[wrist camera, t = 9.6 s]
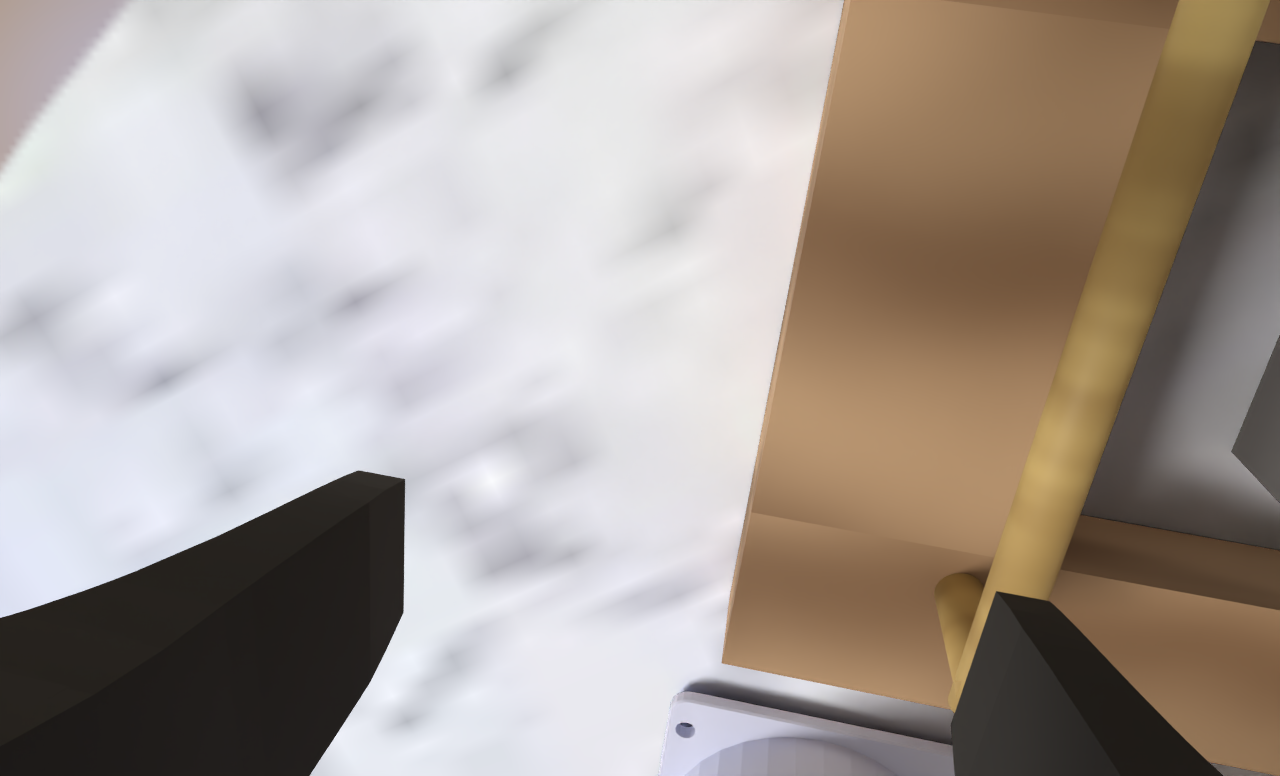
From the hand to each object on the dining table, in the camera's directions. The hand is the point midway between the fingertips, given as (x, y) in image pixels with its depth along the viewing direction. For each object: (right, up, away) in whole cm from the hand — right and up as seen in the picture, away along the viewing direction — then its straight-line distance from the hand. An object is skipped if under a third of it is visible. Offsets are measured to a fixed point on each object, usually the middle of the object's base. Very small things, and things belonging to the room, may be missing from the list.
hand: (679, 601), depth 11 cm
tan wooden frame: (+10, +3, +8) cm, 13 cm away
